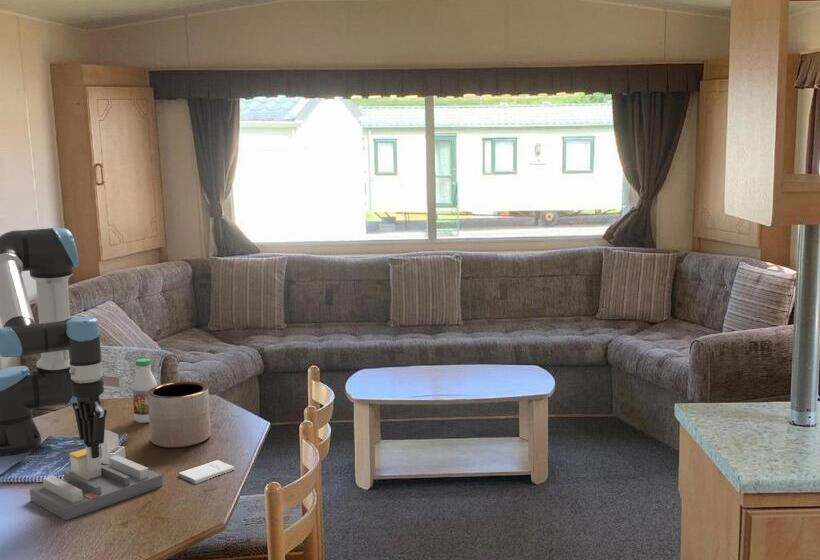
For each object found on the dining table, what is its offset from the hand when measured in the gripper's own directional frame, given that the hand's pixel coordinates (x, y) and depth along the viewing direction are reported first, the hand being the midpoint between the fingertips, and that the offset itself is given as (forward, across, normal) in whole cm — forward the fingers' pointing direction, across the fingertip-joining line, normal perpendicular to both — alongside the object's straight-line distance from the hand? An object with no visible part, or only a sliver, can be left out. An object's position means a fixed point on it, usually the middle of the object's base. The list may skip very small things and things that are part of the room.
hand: (93, 468), depth 211 cm
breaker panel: (+6, +1, 0) cm, 6 cm away
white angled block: (+7, -17, +15) cm, 23 cm away
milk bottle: (+7, -42, +41) cm, 59 cm away
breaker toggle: (+3, -4, 0) cm, 5 cm away
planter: (+7, -17, +37) cm, 41 cm away
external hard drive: (+7, +12, +26) cm, 29 cm away
